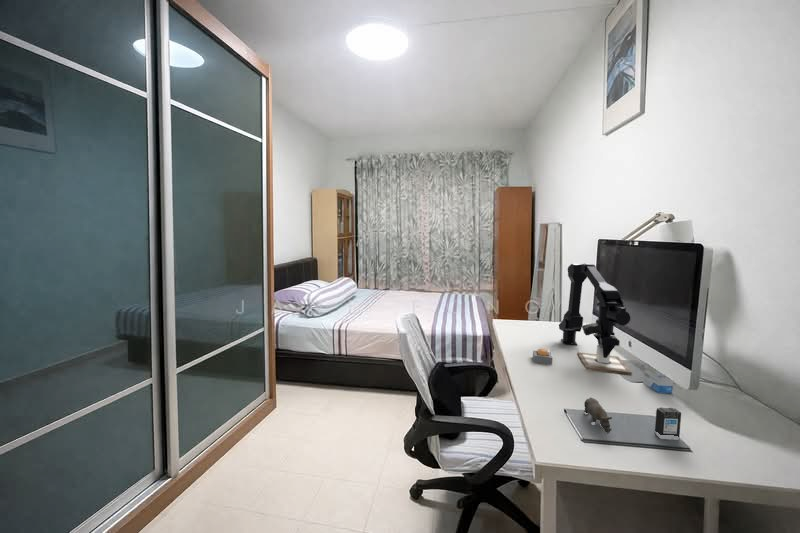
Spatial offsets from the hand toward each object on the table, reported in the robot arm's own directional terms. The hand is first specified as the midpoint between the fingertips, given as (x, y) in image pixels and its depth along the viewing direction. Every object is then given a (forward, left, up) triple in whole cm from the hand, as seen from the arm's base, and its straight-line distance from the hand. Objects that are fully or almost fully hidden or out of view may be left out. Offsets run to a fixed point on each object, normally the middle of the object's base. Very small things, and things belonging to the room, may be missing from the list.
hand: (603, 355), depth 145 cm
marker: (0, 0, -2) cm, 2 cm away
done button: (+5, -24, -2) cm, 25 cm away
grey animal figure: (+53, -13, -4) cm, 55 cm away
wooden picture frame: (0, 0, -4) cm, 4 cm away
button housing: (+5, -24, -4) cm, 25 cm away
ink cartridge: (+54, +3, -4) cm, 54 cm away
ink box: (+19, +13, -4) cm, 23 cm away
